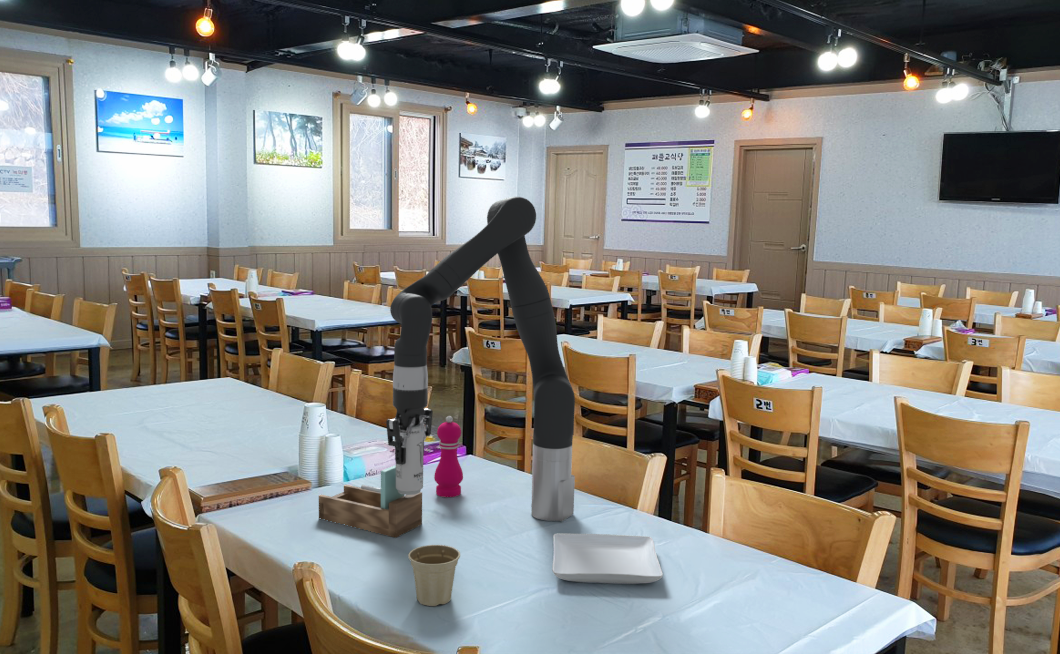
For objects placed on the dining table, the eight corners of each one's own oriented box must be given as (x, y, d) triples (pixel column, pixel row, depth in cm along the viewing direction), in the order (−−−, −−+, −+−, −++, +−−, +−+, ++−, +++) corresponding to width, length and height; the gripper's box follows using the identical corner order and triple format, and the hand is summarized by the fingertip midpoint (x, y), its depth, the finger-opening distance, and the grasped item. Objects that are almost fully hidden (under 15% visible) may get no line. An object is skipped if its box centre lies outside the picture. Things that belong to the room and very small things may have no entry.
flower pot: (409, 588, 161) (409, 544, 160) (459, 587, 162) (460, 543, 161) (406, 611, 152) (406, 564, 150) (459, 610, 152) (460, 564, 151)
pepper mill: (458, 499, 212) (459, 420, 209) (430, 496, 213) (430, 418, 210) (466, 490, 219) (467, 413, 216) (439, 487, 220) (439, 411, 217)
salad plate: (552, 546, 184) (553, 531, 183) (651, 549, 183) (652, 534, 183) (551, 589, 163) (552, 572, 162) (663, 593, 162) (664, 576, 162)
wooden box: (422, 524, 194) (422, 492, 193) (396, 537, 186) (396, 504, 185) (346, 506, 204) (346, 476, 203) (318, 518, 196) (318, 487, 195)
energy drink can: (420, 496, 186) (421, 428, 184) (393, 495, 186) (393, 428, 184) (424, 487, 192) (425, 422, 190) (398, 486, 192) (398, 421, 190)
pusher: (404, 515, 194) (404, 464, 193) (385, 524, 188) (385, 471, 187) (372, 507, 199) (372, 457, 197) (352, 516, 193) (352, 465, 191)
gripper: (404, 393, 178) (403, 471, 180) (443, 382, 190) (442, 455, 192) (375, 388, 181) (375, 465, 183) (416, 378, 194) (415, 450, 196)
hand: (409, 460), depth 188 cm, fingers closed on energy drink can, 6 cm apart
